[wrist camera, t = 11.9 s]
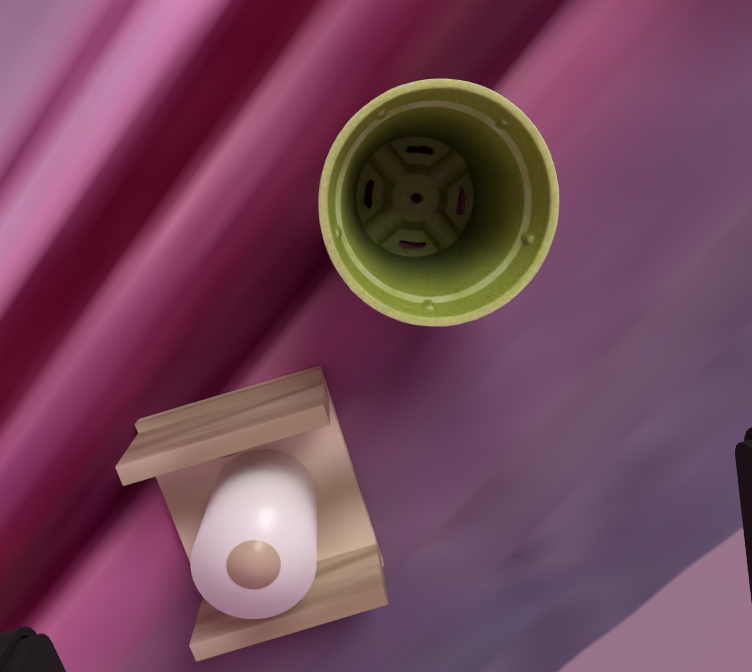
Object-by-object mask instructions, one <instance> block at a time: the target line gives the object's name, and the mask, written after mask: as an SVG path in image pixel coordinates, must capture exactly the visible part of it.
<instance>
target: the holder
mask: <svg viewBox="0 0 752 672" xmlns="http://www.w3.org/2000/svg"><path fill="white" fill-rule="evenodd" d="M135 426H136V429H137V431H138V434H137V436H136V437H135V439H134V440H133V442H132V443H131V445H130V446H129V448H128V449H127V451H126V452H125V454H124V455H123V456H122V458H121V459H120V461H119V462H118V464H117V465H116V467H115V468H116V470H117V472H118V475H119V477H120V480H121V482H122V484H123V486H125V485H129V484H132V483H135V482H139V481H142V480H145V479H149V478H152V477H155V476H156V479H157V481H158V484H159V486H160V489H161V491H162V494H163V496H164V499H165V501H166V504H167V506H168V509H169V511H170V514H171V516H172V519H173V521H174V524H175V526H176V529H177V531H178V534H179V536H180V539H181V541H182V544H183V546H184V549H185V551H186V554H187V556H188V559H189V561H190V560H191V553H192V549H193V546H194V543H195V540H196V537H197V534H198V531H199V528H200V525H201V522H202V519H203V516H204V513H205V510H206V507H207V504H208V501H209V498H210V495H211V492H212V489H213V486H214V484H215V481H216V479H217V476H218V475H219V473H220V472H221V470H222V469H223V468H224V467H225V465H227V464H228V463H229V462H230V461H231V460H233V459H234V458H236V457H237V456H239V455H241V454H244V453H246V452H249V451H254V450H261V449H270V450H277V451H280V452H284V453H286V454H289V455H291V456H292V457H294V458H296V459H297V460H299V461H300V462H301V463H302V464H303V465H304V466H305V467H306V468H307V469H308V470H309V472H310V473H311V475H312V477H313V479H314V481H315V484H316V488H317V561H316V572H315V577H314V580H313V583H312V585H311V587H310V589H309V590H308V592H307V593H306V595H305V596H304V597H303V598H302V599H301V600H300V601H299V602H298V603H297V604H296V605H295V606H293V607H292V608H290V609H289V610H287V611H285V612H283V613H281V614H278V615H275V616H272V617H268V618H262V619H244V618H238V617H234V616H231V615H228V614H226V613H224V612H222V611H220V610H218V609H216V608H215V607H213V606H212V605H211V604H210V603H208V602H207V601H206V600H205V599H204V597H203V598H202V601H201V605H200V608H199V612H198V616H197V619H196V623H195V627H194V630H193V634H192V637H191V641H190V645H189V646H190V648H191V650H192V653H193V655H194V658H195V660H196V662H197V661H200V660H204V659H207V658H210V657H214V656H217V655H220V654H224V653H227V652H230V651H234V650H237V649H240V648H244V647H247V646H250V645H254V644H257V643H261V642H264V641H267V640H271V639H274V638H277V637H281V636H284V635H287V634H291V633H294V632H297V631H301V630H304V629H307V628H311V627H314V626H318V625H321V624H324V623H328V622H331V621H334V620H338V619H341V618H344V617H348V616H351V615H354V614H358V613H361V612H364V611H368V610H371V609H374V608H378V607H381V606H385V605H388V599H387V593H386V586H385V579H384V572H383V567H384V563H383V558H382V555H381V552H380V549H379V545H378V542H377V539H376V536H375V533H374V530H373V527H372V524H371V520H370V517H369V514H368V511H367V508H366V505H365V502H364V499H363V496H362V492H361V489H360V486H359V483H358V480H357V477H356V474H355V471H354V468H353V464H352V461H351V458H350V455H349V452H348V449H347V446H346V443H345V440H344V436H343V433H342V430H341V427H340V424H339V421H338V418H337V415H336V412H335V408H334V405H333V402H332V399H331V396H330V393H329V390H328V387H327V384H326V380H325V377H324V374H323V371H322V368H321V365H319V366H316V367H312V368H309V369H306V370H302V371H299V372H296V373H292V374H289V375H286V376H282V377H279V378H275V379H272V380H269V381H265V382H262V383H259V384H255V385H252V386H249V387H245V388H242V389H239V390H235V391H232V392H228V393H225V394H222V395H218V396H215V397H212V398H208V399H205V400H202V401H198V402H195V403H191V404H188V405H185V406H181V407H178V408H175V409H171V410H168V411H165V412H161V413H158V414H155V415H151V416H148V417H144V418H141V419H138V421H137V422H136V424H135Z"/></svg>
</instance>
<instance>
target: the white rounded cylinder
mask: <svg viewBox="0 0 752 672" xmlns="http://www.w3.org/2000/svg"><path fill="white" fill-rule="evenodd" d="M316 561H317V488H316V484H315V481H314V479H313V477H312V475H311V473H310V472H309V470H308V469H307V468H306V467H305V466H304V465H303V464H302V463H301V462H300V461H299V460H297V459H296V458H294V457H292V456H291V455H289V454H286V453H284V452H280V451H277V450H270V449H261V450H254V451H249V452H246V453H244V454H241V455H239V456H237V457H236V458H234V459H233V460H231V461H230V462H229V463H228V464H227V465H225V467H224V468H223V469H222V470H221V472H220V473H219V475H218V476H217V479H216V481H215V484H214V486H213V489H212V492H211V495H210V498H209V501H208V504H207V507H206V510H205V513H204V516H203V519H202V522H201V525H200V528H199V531H198V534H197V537H196V540H195V543H194V546H193V549H192V553H191V560H190V566H191V574H192V578H193V581H194V583H195V585H196V587H197V589H198V591H199V592H200V594H201V595H202V596H203V597H204V599H205V600H206V601H207V602H208V603H210V604H211V605H212V606H213V607H215V608H216V609H218V610H220V611H222V612H224V613H226V614H228V615H231V616H234V617H238V618H244V619H262V618H268V617H272V616H275V615H278V614H281V613H283V612H285V611H287V610H289V609H290V608H292V607H293V606H295V605H296V604H297V603H298V602H299V601H300V600H301V599H302V598H303V597H304V596H305V595H306V593H307V592H308V590H309V589H310V587H311V585H312V583H313V580H314V577H315V572H316Z"/></svg>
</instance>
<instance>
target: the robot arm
mask: <svg viewBox="0 0 752 672" xmlns="http://www.w3.org/2000/svg"><path fill="white" fill-rule="evenodd" d="M735 458H736V467H737V476H738V485H739V494H740V503H741V512H742V521H743V529H744V538H745V547H746V556H747V564H748V573H749V583H750V592H751V601H752V428H749V429H748V430H747V431H746V434H745V437H744V442H740V443H738V444H737V445H736V448H735ZM0 672H66V671H65V669H64V667H63V664H62V662H61V660H60V658H59V656H58V654H57V652H56V650H55V648H54V646H53V643H52V642H51V640H50V638H49V637H48V636H46V635H45V634H38V635H37V634H36V632H35V631H34V630H33V629H31V628H30V627H25V626H24V627H20V628H17V629H13V630H9V631H6V632H2V633H0Z"/></svg>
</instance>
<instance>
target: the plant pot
mask: <svg viewBox="0 0 752 672" xmlns="http://www.w3.org/2000/svg"><path fill="white" fill-rule="evenodd" d="M409 146H416V147H419V146H427V147H429V148H432V150H433V153H432V154H431V155H429V154H424V153H415V152H411V153H407V152H406V150H405V149H407V147H409ZM370 180H373V182H374V185H373V190H372V195H371V196H372V198H371V201H372V206H371V208H367V206H366V204H365V202H364V197H365V188H366V185H367V183H368V182H369V181H370ZM460 187H462V189H463V190H464V193H465V207H464V211H463V212H462V214H461V215H457V213H456V210H457V206H458V201H459V193H460V191H459V189H460ZM414 193H416V194H420V196H421V201H420V202H419V203H414V202H412V201H411V196H412V195H413V194H414ZM318 207H319V221H320V226H321V232H322V236H323V240H324V243H325V246H326V249H327V252H328V254H329V256H330V259H331V261H332V263H333V265H334V267H335V268H336V270H337V272H338V273H339V275H340V276H341V278H342V279H343V280H344V282H345V283H346V284H347V285H348V287H349V288H350V289H351V290H352V291H353V292H354V293H355V294H356V295H357V296H358V297H359V298H360V299H361V300H362V301H364V302H365V303H366V304H367V305H369V306H370V307H372V308H373V309H375V310H376V311H378V312H380V313H382V314H384V315H386V316H388V317H390V318H393V319H395V320H398V321H401V322H405V323H409V324H413V325H421V326H439V327H442V326H452V325H458V324H462V323H466V322H470V321H473V320H476V319H479V318H481V317H483V316H486V315H488V314H490V313H492V312H494V311H495V310H497V309H499V308H500V307H502V306H503V305H505V304H506V303H508V302H509V301H510V300H511V299H513V298H514V297H515V296H516V295H517V294H518V293H520V292H521V291H522V290H523V288H524V287H526V286H527V284H528V283H529V282H530V281H531V280H532V279H533V277H534V276H535V275H536V273H537V272H538V270H539V269H540V267H541V265H542V264H543V262H544V260H545V258H546V256H547V254H548V251H549V249H550V246H551V244H552V241H553V238H554V235H555V231H556V227H557V221H558V213H559V188H558V180H557V175H556V171H555V167H554V164H553V161H552V158H551V154H550V152H549V149H548V147H547V145H546V143H545V141H544V139H543V138H542V136H541V134H540V133H539V131H538V130H537V128H536V127H535V126H534V124H533V123H532V122H531V121H530V120H529V118H528V117H527V116H526V115H525V114H524V113H523V112H522V111H521V110H520V109H519V108H518V107H516V106H515V105H514V104H513V103H511V102H510V101H509V100H507V99H506V98H504V97H503V96H501V95H499V94H498V93H496V92H494V91H492V90H490V89H488V88H486V87H483V86H480V85H477V84H474V83H470V82H466V81H461V80H452V79H428V80H421V81H416V82H411V83H408V84H404V85H401V86H398V87H396V88H393V89H391V90H389V91H387V92H385V93H383V94H382V95H380V96H378V97H377V98H375V99H374V100H372V101H371V102H369V103H368V104H367V105H365V106H364V107H363V108H362V109H361V110H359V111H358V112H357V113H356V114H355V115H354V116H353V117H352V118H351V119H350V120H349V121H348V123H347V124H346V125H345V126H344V128H343V129H342V130H341V132H340V133H339V135H338V136H337V138H336V140H335V142H334V143H333V145H332V147H331V149H330V152H329V154H328V156H327V158H326V161H325V165H324V168H323V171H322V176H321V181H320V187H319V201H318ZM401 240H402V241H407V242H417V243H419V242H425V245H424V246H423V248H419V249H413V248H412V249H407V248H403V247H402V246H401V245H399V241H401Z"/></svg>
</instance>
